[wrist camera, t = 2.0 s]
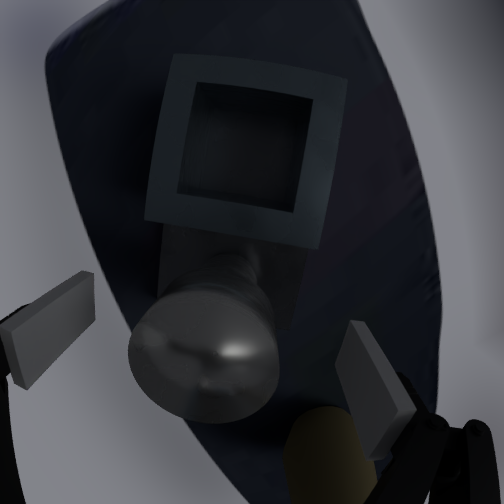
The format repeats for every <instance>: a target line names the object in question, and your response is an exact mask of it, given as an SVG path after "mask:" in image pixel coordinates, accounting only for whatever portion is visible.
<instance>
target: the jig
mask: <svg viewBox="0 0 504 504" xmlns="http://www.w3.org/2000/svg"><path fill="white" fill-rule="evenodd" d="M347 82H348V79H345V78H341V77H337V76H333V75H329V74H325V73H321V72H317V71H313V70H308V69H303V68H299V67H294V66H288V65H283V64H277V63H271V62H265V61H258V60H251V59H243V58H234V57H225V56H213V55H198V54H174V55H173V59H172V63H171V67H170V71H169V75H168V79H167V83H166V88H165V92H164V97H163V101H162V106H161V111H160V116H159V121H158V126H157V131H156V137H155V143H154V148H153V154H152V161H151V167H150V174H149V181H148V189H147V197H146V205H145V214H144V220H147V221H153V222H159V223H164V225H163V234H162V244H161V254H160V266H159V278H158V292H157V299H158V297H159V296H160V295H161V294H162V292H163V291H164V290H165V289H166V287H167V286H168V285H169V284H170V283H171V282H172V281H173V280H174V279H176V278H177V277H178V276H180V275H182V274H183V273H185V272H188V271H190V270H193V269H197V268H202V267H203V266H204V264H205V263H206V262H207V261H208V260H209V259H211V258H212V257H214V256H216V255H219V254H235V255H238V256H240V257H242V258H244V259H245V260H246V261H248V262H249V263H250V265H251V266H252V267H253V269H254V271H255V274H256V279H257V285H258V286H259V287H260V288H261V289H262V291H263V292H264V293H265V294H266V296H267V298H268V299H269V301H270V303H271V305H272V308H273V311H274V316H275V324H276V328H277V329H284V330H289V329H290V325H291V321H292V317H293V313H294V309H295V305H296V301H297V297H298V293H299V288H300V284H301V280H302V276H303V271H304V267H305V262H306V258H307V253H308V249H315V250H318V247H319V242H320V238H321V233H322V228H323V224H324V219H325V214H326V209H327V204H328V199H329V194H330V189H331V183H332V178H333V173H334V167H335V161H336V156H337V150H338V144H339V138H340V131H341V125H342V118H343V112H344V105H345V97H346V90H347Z"/></svg>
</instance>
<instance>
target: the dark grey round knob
mask: <svg viewBox="0 0 504 504" xmlns="http://www.w3.org/2000/svg"><path fill="white" fill-rule="evenodd" d="M128 358H129V364H130V368H131V371H132V373H133V376H134V378H135V380H136V381H137V383H138V385H139V386H140V387H141V389H142V390H143V391H144V393H145V394H146V395H147V396H148V397H149V398H150V399H151V400H153V401H154V402H155V403H156V404H157V405H159V406H160V407H162V408H163V409H165V410H166V411H168V412H170V413H172V414H174V415H176V416H178V417H181V418H184V419H187V420H191V421H195V422H201V423H211V424H216V423H227V422H233V421H237V420H240V419H243V418H245V417H248V416H250V415H251V414H253V413H255V412H256V411H258V410H259V409H261V408H262V407H263V406H264V405H265V404H266V403H267V402H268V401H269V399H270V398H271V397H272V395H273V393H274V392H275V389H276V387H277V384H278V380H279V357H278V346H277V335H276V324H275V316H274V311H273V308H272V305H271V303H270V301H269V299H268V298H267V296H266V294H265V293H264V292H263V291H262V289H261V288H260V287H259V286H258V285H257V279H256V274H255V271H254V269H253V267H252V266H251V265H250V263H249V262H248V261H246V260H245V259H244V258H242V257H240V256H238V255H235V254H219V255H216V256H214V257H212V258H211V259H209V260H208V261H207V262H206V263H205V264H204V266H203V267H202V268H197V269H193V270H190V271H188V272H185V273H183V274H182V275H180V276H178V277H177V278H176V279H174V280H173V281H172V282H171V283H170V284H169V285H168V286H167V287H166V289H165V290H164V291H163V292H162V294H161V295H160V296H159V297H158V299H157V300H156V301H155V302H154V304H153V305H152V306H151V307H150V309H149V310H148V311H147V312H146V314H145V315H144V316H143V317H142V319H141V320H140V321H139V322H138V324H137V325H136V327H135V328H134V330H133V332H132V335H131V337H130V341H129V346H128Z"/></svg>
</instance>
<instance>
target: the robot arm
mask: <svg viewBox="0 0 504 504" xmlns="http://www.w3.org/2000/svg"><path fill="white" fill-rule="evenodd" d="M94 321H95V304H94V273H90V272H86V271H80V272H79V273H77V274H76V275H74V276H72V277H71V278H69V279H68V280H66V281H64V282H63V283H61V284H60V285H58V286H57V287H55V288H53V289H52V290H51V291H49V292H47V293H46V294H44V295H43V296H41V297H40V298H38V299H37V300H35V301H34V302H32V303H30V304H27V305H24V306H21V307H20V308H18V309H17V310H15V311H14V312H12V313H11V314H9V316H6V317H5V318H3V319H2V320H0V504H26V502H25V499H24V495H23V491H22V487H21V483H20V478H19V474H18V469H17V464H16V458H15V453H14V447H13V440H12V431H11V423H10V412H9V397H8V382H7V379H6V376H7V375H8V374H9V373H10V372H11V375H12V378H13V381H14V384H16V385H18V386H20V387H22V388H23V389H25V390H28V389H29V388H30V387H31V386H32V385H33V383H34V382H35V381H36V380H37V379H38V378H39V377H40V376H41V375H42V374H43V373H44V372H45V371H46V369H48V368H49V366H50V365H51V364H52V363H53V362H54V361H55V360H56V359H57V358H58V357H59V356H60V355H61V354H62V353H63V352H64V351H65V350H66V349H67V348H68V347H69V346H70V345H71V344H72V343H73V342H74V341H75V340H76V339H77V338H78V337H79V336H80V334H81V333H83V332H84V331H85V330H86V329H87V328H88V327H89V326H90V325H91V324H92V323H93V322H94ZM335 367H336V370H337V373H338V376H339V379H340V382H341V385H342V388H343V391H344V394H345V397H346V400H347V403H348V406H349V409H350V412H351V415H352V418H353V421H354V424H355V427H356V430H357V434H358V437H359V440H360V443H361V446H362V450H363V453H364V456H365V459H366V461H373V460H383V459H384V458H385V457H386V455H387V454H388V453H389V451H390V450H391V452H392V455H393V458H392V460H391V461H390V462H389V464H388V465H387V466H386V467H385V469H384V470H383V471H382V472H381V474H382V476H381V477H380V479H379V481H378V482H377V484H376V485H375V487H374V488H373V490H372V491H371V493H370V495H369V496H368V497H367V499H366V500H365V502H364V503H363V504H424V502H425V500H426V498H427V495H428V493H429V490H430V494H429V502H428V504H501V500H500V489H499V488H500V487H499V478H498V471H497V463H496V457H495V451H494V444H493V439H492V434H491V431H490V428H489V427H488V426H487V425H486V424H485V423H484V422H482V421H479V420H476V419H472V420H469V421H468V422H467V423H466V424H465V426H464V427H463V429H461V428H454V427H450V426H449V424H448V422H447V421H446V420H445V419H444V418H443V417H441V416H439V415H437V414H434V413H429V411H428V410H427V408H426V406H425V405H424V403H423V401H422V400H421V398H420V396H419V395H418V394H417V392H416V390H415V388H413V385H412V383H411V382H410V380H409V379H408V378H407V377H406V376H404V375H403V374H402V373H401V372H395V371H394V369H393V368H392V366H391V364H390V363H389V361H388V359H387V358H386V356H385V355H384V353H383V351H382V350H381V348H380V346H379V345H378V343H377V342H376V340H375V338H374V337H373V335H372V334H371V332H370V330H369V329H368V327H367V326H366V324H365V323H364V322H362V321H354V320H350V322H349V325H348V329H347V331H346V334H345V337H344V340H343V343H342V346H341V349H340V352H339V354H338V357H337V360H336V363H335Z"/></svg>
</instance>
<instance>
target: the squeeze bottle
mask: <svg viewBox="0 0 504 504" xmlns="http://www.w3.org/2000/svg"><path fill="white" fill-rule="evenodd" d="M282 459H283V464H284V469H285V474H286V479H287V484H288V489H289V494H290V498H291V503H292V504H363V503H364V502H365V500H366V499H367V497H368V496H369V495H370V493H371V491H372V490H373V488H374V487H375V485H376V484H377V477H376V471H375V466H374V461H366V459H365V456H364V453H363V450H362V446H361V443H360V440H359V437H358V434H357V430H356V427H355V424H354V421H353V418H352V417H351V416H350V415H349V414H348V413H347V412H346V411H345V410H343V409H342V408H338V407H334V406H325V407H318V408H315V409H312V410H308V411H307V412H305V413H304V414H302V415H301V416H299V417H298V418H297V420H296V421H295V422H294V423H293V426H292V428H291V431H290V434H289V436H288V439H287V442H286V444H285V447H284V451H283V458H282Z"/></svg>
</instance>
